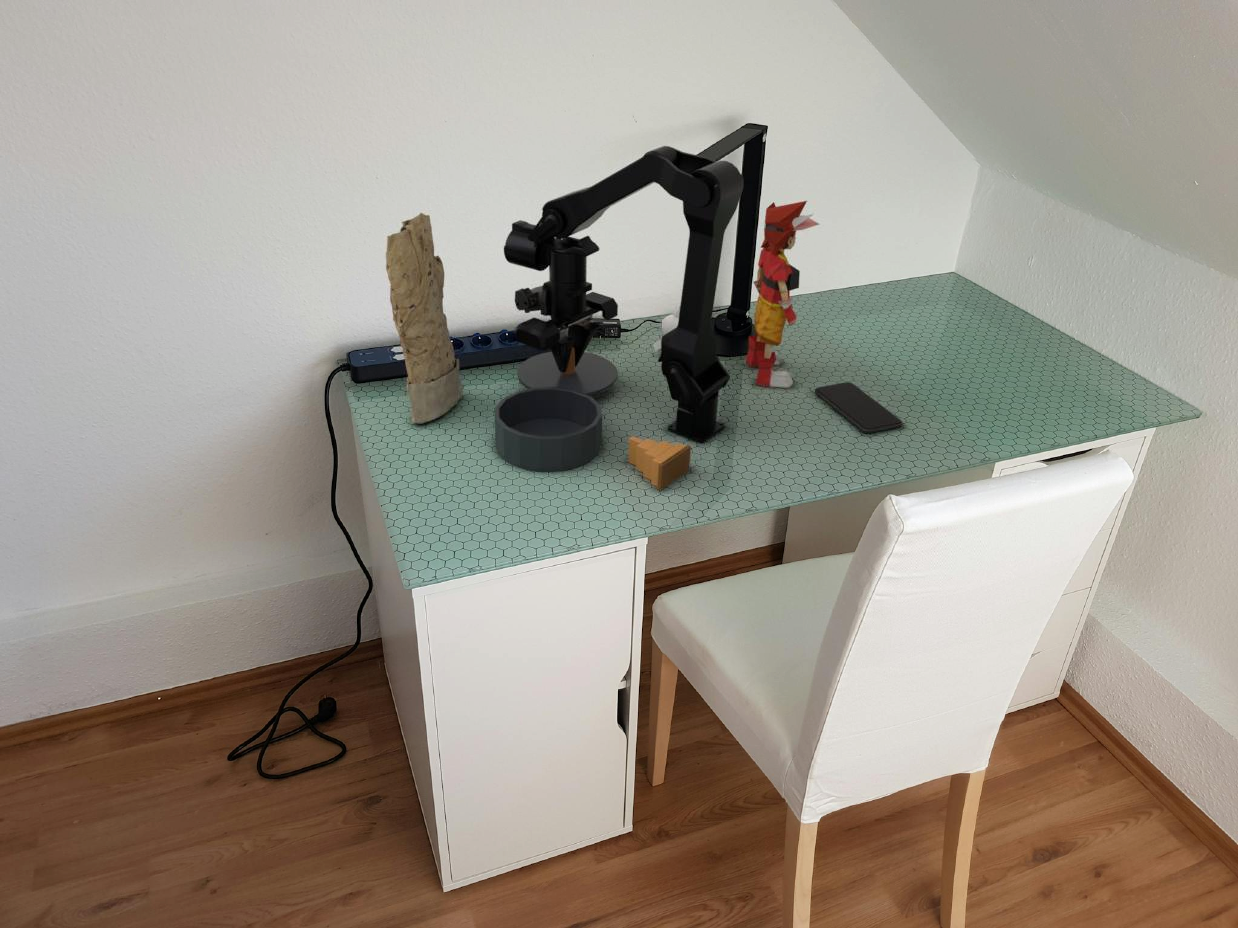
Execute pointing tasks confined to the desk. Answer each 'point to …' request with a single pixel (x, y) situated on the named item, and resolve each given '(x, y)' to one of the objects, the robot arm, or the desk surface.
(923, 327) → the desk surface
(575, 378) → the pan lid
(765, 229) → the toy
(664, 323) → the figurine
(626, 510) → the desk surface
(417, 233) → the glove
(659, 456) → the tan stepped block
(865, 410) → the smartphone
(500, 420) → the pan
